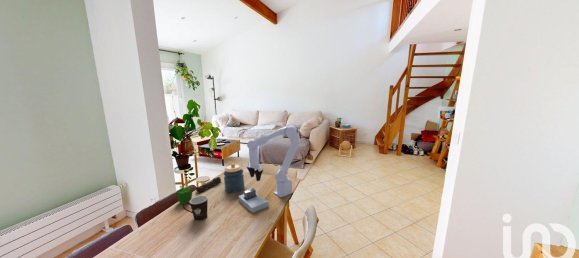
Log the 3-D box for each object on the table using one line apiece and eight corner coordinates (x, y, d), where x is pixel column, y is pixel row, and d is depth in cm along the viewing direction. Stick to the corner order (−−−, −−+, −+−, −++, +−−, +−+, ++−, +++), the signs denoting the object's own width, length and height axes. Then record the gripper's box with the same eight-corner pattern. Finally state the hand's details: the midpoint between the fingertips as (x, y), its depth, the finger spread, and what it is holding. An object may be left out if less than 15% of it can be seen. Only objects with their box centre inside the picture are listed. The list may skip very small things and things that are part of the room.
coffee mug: (213, 213, 113) (211, 196, 112) (201, 223, 105) (199, 205, 104) (195, 210, 117) (193, 193, 115) (183, 219, 109) (180, 201, 107)
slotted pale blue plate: (253, 195, 132) (253, 190, 132) (268, 206, 119) (268, 201, 118) (238, 200, 126) (238, 196, 126) (252, 213, 113) (252, 207, 112)
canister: (248, 186, 144) (247, 162, 141) (234, 194, 134) (232, 168, 130) (235, 182, 151) (233, 159, 148) (220, 190, 140) (218, 164, 137)
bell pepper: (195, 201, 127) (193, 186, 125) (180, 207, 121) (178, 191, 119) (190, 197, 133) (188, 182, 131) (175, 202, 127) (173, 186, 125)
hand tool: (199, 193, 137) (198, 187, 136) (195, 192, 139) (195, 185, 138) (223, 183, 152) (222, 176, 151) (219, 181, 154) (219, 175, 153)
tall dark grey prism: (253, 198, 128) (253, 188, 127) (256, 200, 125) (255, 189, 124) (244, 202, 124) (243, 191, 123) (247, 204, 122) (246, 193, 121)
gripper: (243, 156, 135) (244, 177, 137) (254, 162, 123) (255, 184, 126) (252, 154, 139) (254, 174, 141) (264, 159, 127) (265, 181, 130)
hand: (255, 178), depth 134 cm, fingers open, 7 cm apart
